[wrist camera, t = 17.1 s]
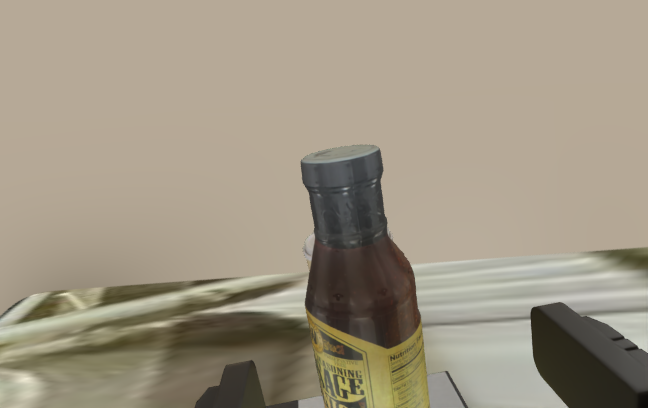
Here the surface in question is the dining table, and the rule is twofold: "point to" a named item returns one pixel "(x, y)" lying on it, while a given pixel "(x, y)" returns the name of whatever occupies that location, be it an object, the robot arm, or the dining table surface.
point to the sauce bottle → (360, 288)
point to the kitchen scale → (441, 387)
